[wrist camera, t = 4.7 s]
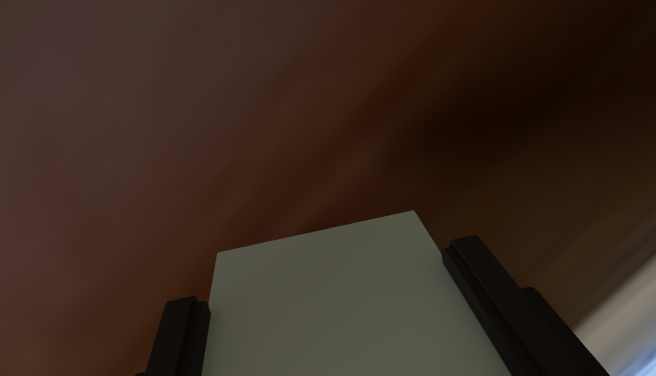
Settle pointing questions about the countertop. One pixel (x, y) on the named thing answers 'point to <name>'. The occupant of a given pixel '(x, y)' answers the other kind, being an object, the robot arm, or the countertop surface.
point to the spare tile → (344, 307)
